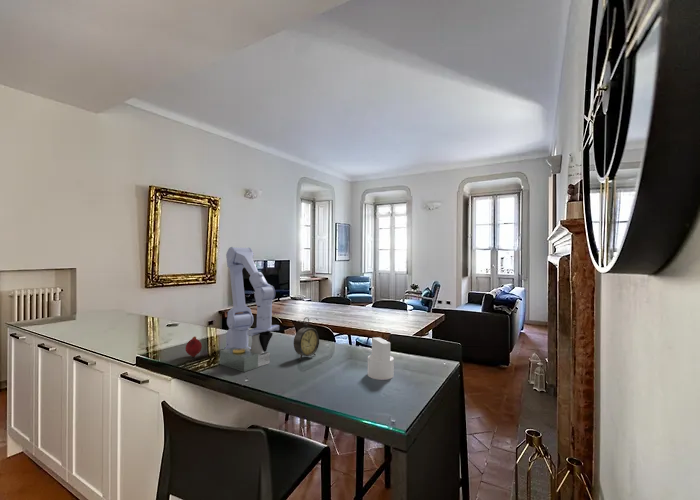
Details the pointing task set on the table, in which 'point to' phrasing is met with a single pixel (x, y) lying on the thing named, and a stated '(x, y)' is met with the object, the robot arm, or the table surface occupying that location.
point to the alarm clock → (306, 341)
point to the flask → (256, 345)
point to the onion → (193, 347)
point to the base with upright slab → (380, 360)
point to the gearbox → (243, 358)
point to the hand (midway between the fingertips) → (263, 351)
